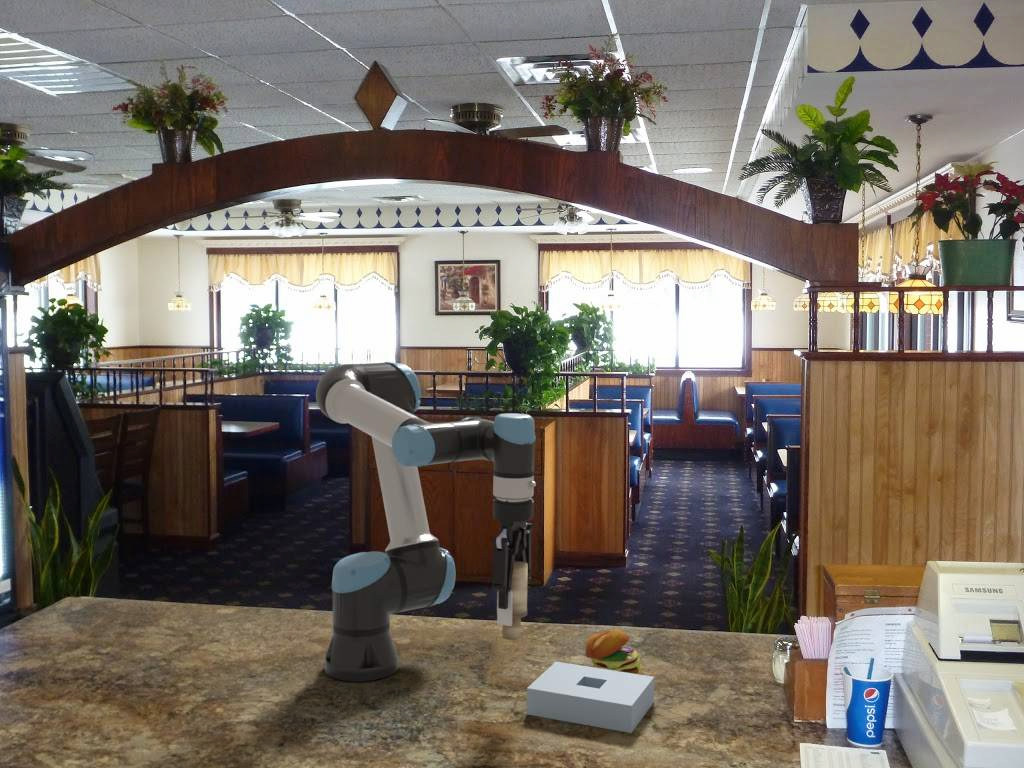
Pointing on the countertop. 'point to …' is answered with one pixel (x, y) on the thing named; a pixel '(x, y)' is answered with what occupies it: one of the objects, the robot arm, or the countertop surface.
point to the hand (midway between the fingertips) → (511, 619)
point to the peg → (517, 600)
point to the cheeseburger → (613, 652)
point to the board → (591, 696)
